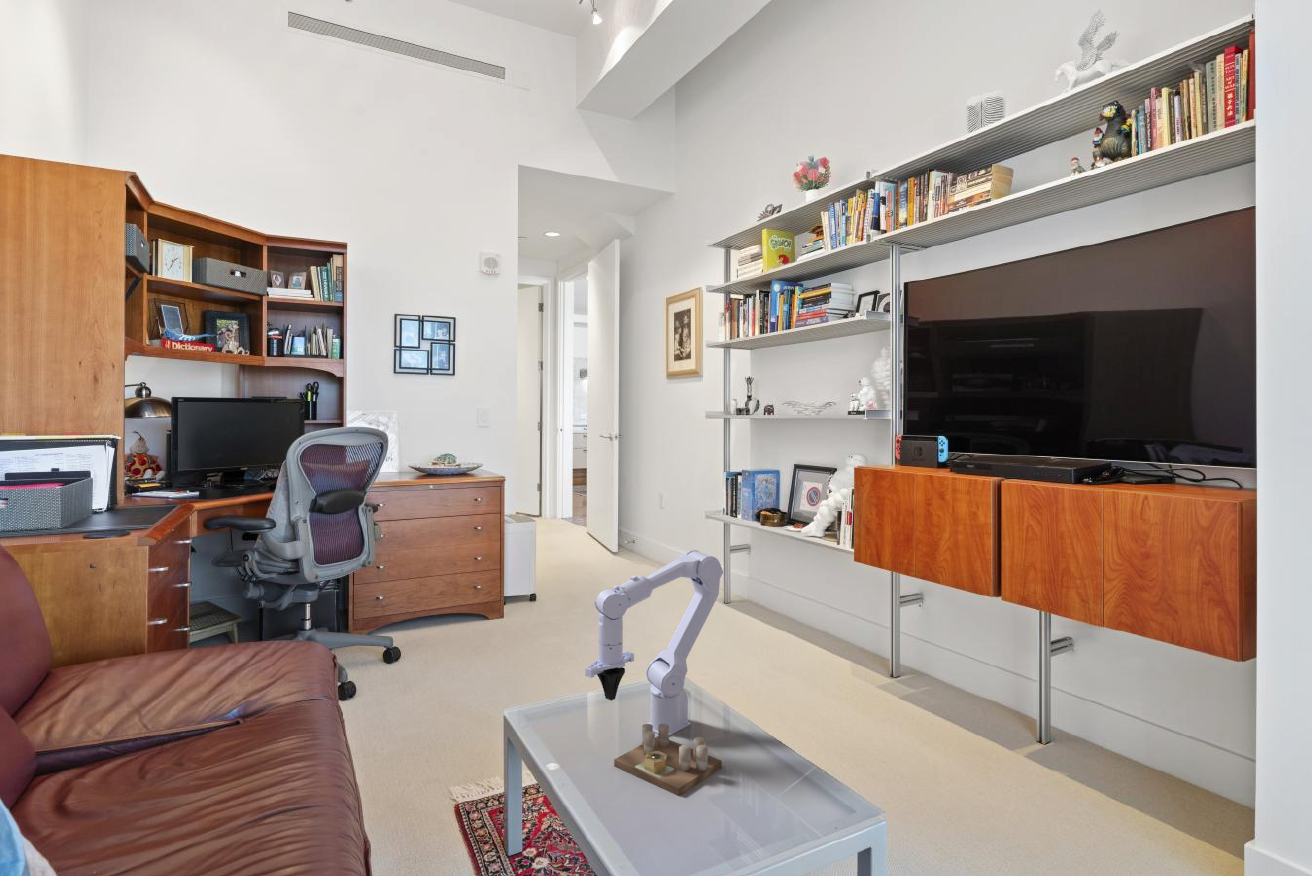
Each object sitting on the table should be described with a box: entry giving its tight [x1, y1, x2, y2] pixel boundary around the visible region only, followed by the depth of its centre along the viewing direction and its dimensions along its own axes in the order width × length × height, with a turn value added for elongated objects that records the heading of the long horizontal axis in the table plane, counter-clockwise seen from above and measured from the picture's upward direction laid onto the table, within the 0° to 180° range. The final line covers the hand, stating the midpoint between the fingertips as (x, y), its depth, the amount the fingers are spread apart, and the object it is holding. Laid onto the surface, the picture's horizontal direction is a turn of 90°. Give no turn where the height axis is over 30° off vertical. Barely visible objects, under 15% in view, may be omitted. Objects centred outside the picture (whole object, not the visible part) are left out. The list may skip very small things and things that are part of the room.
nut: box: [645, 751, 667, 774], centre depth 149 cm, size 4×5×2 cm
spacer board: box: [613, 723, 723, 796], centre depth 152 cm, size 15×18×6 cm
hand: (610, 698), depth 165 cm, fingers closed
